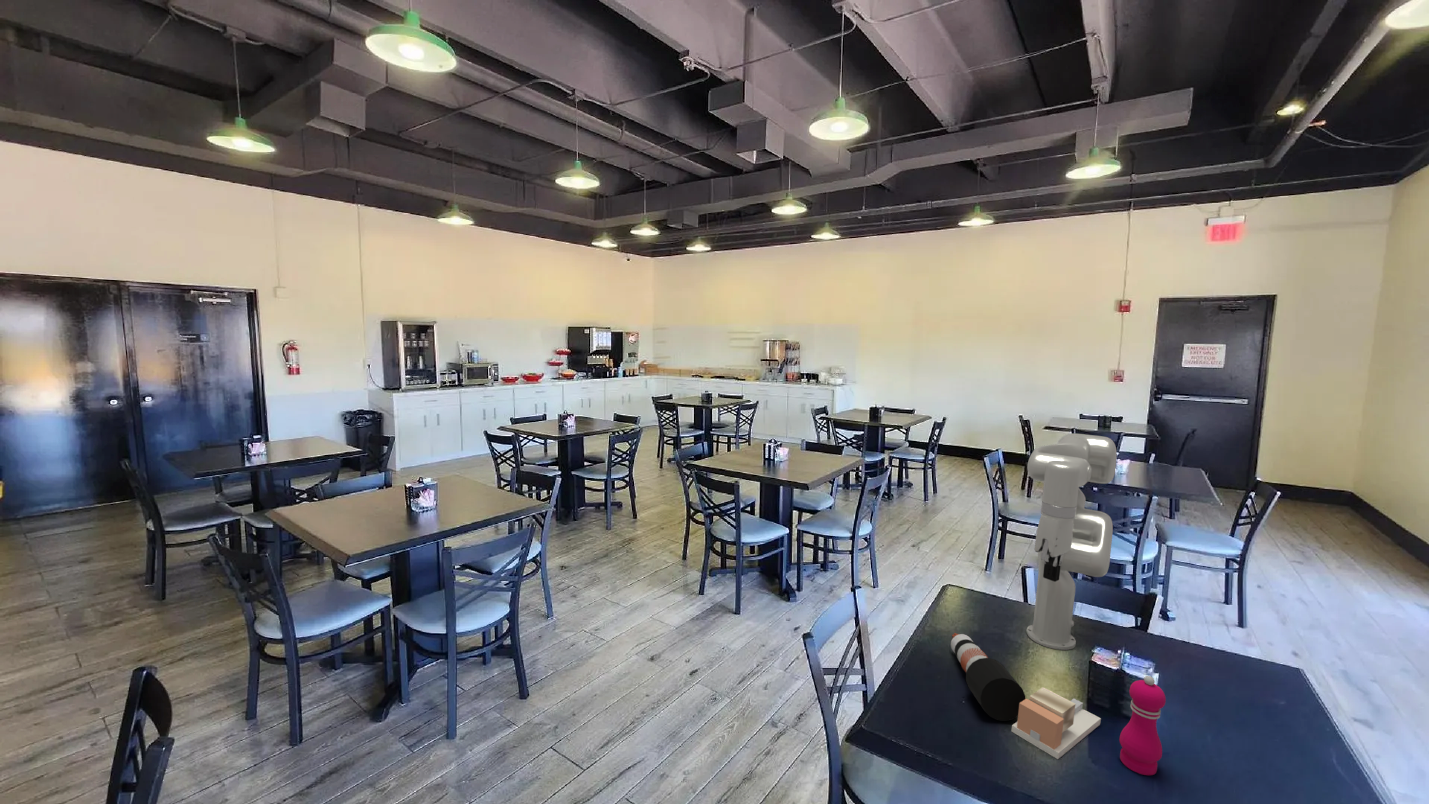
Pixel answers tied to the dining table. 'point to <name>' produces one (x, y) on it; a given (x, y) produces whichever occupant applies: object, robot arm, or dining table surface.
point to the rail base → (1067, 735)
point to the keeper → (1055, 705)
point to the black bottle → (988, 680)
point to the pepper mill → (1143, 728)
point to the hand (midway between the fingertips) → (1050, 578)
